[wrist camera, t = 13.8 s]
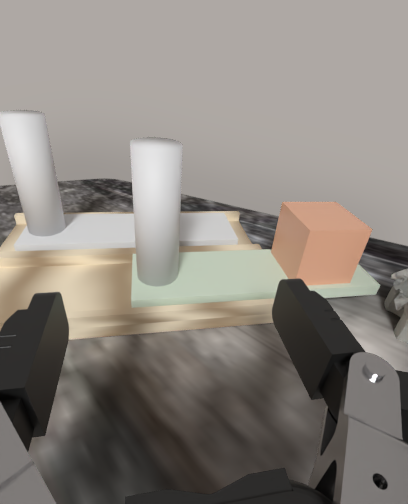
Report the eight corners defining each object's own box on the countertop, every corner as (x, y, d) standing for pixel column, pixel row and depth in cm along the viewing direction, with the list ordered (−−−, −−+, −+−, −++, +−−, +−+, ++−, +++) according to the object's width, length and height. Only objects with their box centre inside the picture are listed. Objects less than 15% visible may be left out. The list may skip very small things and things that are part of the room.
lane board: (235, 226, 37) (238, 211, 36) (289, 321, 24) (295, 302, 23) (20, 230, 33) (16, 213, 31) (-60, 350, 19) (-73, 327, 18)
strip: (223, 220, 35) (235, 118, 29) (237, 247, 30) (255, 131, 24) (35, 223, 31) (6, 106, 25) (16, 254, 26) (-26, 119, 21)
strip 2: (337, 255, 30) (379, 141, 25) (375, 294, 25) (440, 164, 20) (133, 263, 27) (125, 131, 21) (131, 311, 22) (120, 156, 16)
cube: (320, 250, 29) (336, 201, 26) (350, 283, 25) (372, 229, 22) (271, 252, 28) (282, 202, 25) (293, 286, 24) (310, 230, 21)
